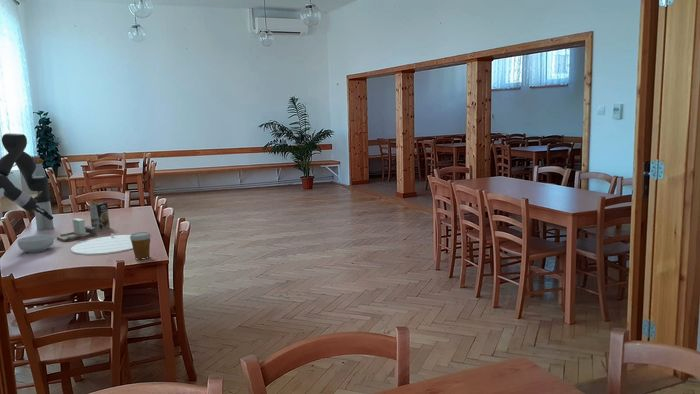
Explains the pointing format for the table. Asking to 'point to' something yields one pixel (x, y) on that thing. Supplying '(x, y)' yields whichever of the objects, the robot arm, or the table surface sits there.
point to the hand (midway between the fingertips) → (52, 218)
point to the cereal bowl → (36, 243)
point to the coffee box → (99, 216)
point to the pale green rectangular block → (79, 226)
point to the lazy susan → (103, 245)
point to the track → (72, 236)
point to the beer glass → (141, 244)
